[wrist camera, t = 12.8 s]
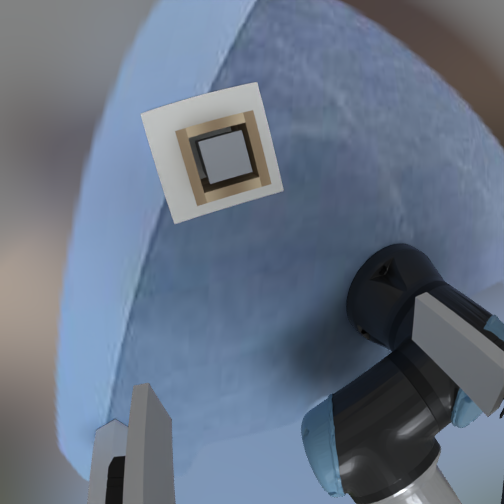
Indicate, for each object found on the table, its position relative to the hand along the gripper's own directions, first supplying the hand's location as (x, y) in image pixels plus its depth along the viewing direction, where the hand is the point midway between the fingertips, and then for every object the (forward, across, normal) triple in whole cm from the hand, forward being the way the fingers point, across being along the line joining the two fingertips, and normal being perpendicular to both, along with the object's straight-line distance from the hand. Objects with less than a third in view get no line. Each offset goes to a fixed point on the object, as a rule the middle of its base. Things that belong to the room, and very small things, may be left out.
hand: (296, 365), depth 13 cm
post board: (+23, 0, -9) cm, 24 cm away
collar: (+21, 0, -9) cm, 23 cm away
